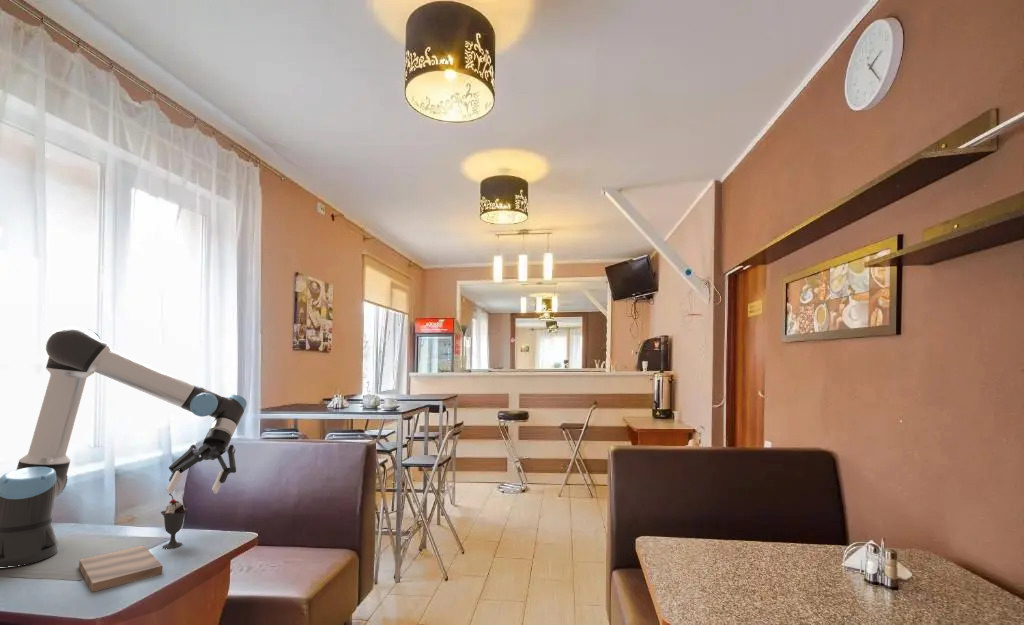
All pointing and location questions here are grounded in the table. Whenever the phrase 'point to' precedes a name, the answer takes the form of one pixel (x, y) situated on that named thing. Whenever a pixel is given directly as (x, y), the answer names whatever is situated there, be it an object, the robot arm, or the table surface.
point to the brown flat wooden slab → (119, 567)
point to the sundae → (173, 521)
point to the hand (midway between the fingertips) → (191, 491)
